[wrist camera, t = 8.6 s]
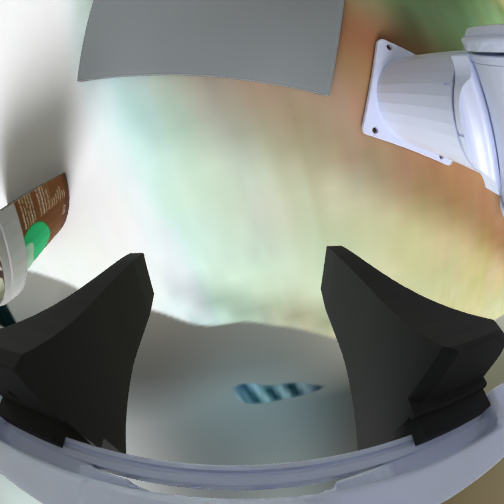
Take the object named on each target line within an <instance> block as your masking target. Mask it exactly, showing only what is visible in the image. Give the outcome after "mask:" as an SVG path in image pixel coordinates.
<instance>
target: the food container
mask: <svg viewBox="0 0 504 504" xmlns="http://www.w3.org/2000/svg"><path fill="white" fill-rule="evenodd" d="M68 209H69V190H68V184H67V180H66V176H65V173H62V174H60V175H58V176H57V177H55V178H53V179H51V180H49V181H47V182H45V183H43V184H42V185H40V186H38V187H36V188H34V189H33V190H31V191H29V192H28V193H26V194H24V195H22V196H21V197H19V198H18V199H16V200H14V201H13V202H11V203H10V204H8V205H7V206H5V207H4V208H2V209H1V210H0V306H2V305H5V304H6V303H8V302H9V301H10V300H12V299H13V298H14V297H16V296H17V295H18V294H19V293H20V292H21V291H22V289H23V288H24V285H25V282H26V277H27V269H28V268H29V267H30V265H31V264H32V263H33V262H34V260H35V259H36V258H37V257H38V255H39V254H40V253H41V252H42V250H43V249H44V248H45V247H46V246H47V244H48V243H49V242H50V241H51V240H52V239H53V238H54V236H55V235H56V234H57V233H58V232H59V231H60V229H61V228H62V227H63V225H64V223H65V221H66V218H67V215H68Z"/></svg>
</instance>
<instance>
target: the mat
mask: <svg viewBox="0 0 504 504" xmlns="http://www.w3.org/2000/svg"><path fill="white" fill-rule="evenodd" d="M343 8H344V0H94V1H93V4H92V8H91V12H90V15H89V19H88V23H87V28H86V32H85V37H84V42H83V47H82V52H81V58H80V65H79V72H78V80H77V81H88V80H96V79H105V78H115V77H128V76H149V75H184V76H205V77H219V78H229V79H238V80H246V81H254V82H260V83H267V84H273V85H278V86H284V87H289V88H294V89H298V90H303V91H307V92H312V93H316V94H320V95H324V96H330V91H331V85H332V79H333V74H334V68H335V62H336V56H337V49H338V43H339V36H340V30H341V23H342V15H343Z"/></svg>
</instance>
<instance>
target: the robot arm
mask: <svg viewBox="0 0 504 504" xmlns="http://www.w3.org/2000/svg"><path fill="white" fill-rule="evenodd" d="M461 41H462V43H463V46H464V48H465V50H459V51H446V52H437V53H428V54H421V55H415V54H414V53H412V52H410V51H408V50H406V49H404V48H402V47H400V46H397V45H395V44H393V43H391V42H389V41H387V40H384V39H379V40H378V41H377V42H376V47H375V54H374V61H373V68H372V74H371V80H370V86H369V91H368V97H367V102H366V107H365V112H364V117H363V122H362V131H363V133H364V134H366V135H370V136H373V137H376V138H379V139H382V140H385V141H388V142H391V143H394V144H396V145H399V146H402V147H405V148H407V149H410V150H413V151H415V152H418V153H420V154H423V155H425V156H428V157H430V158H432V159H435V160H437V161H439V162H442V163H444V164H446V165H450V164H451V163H452V161H455V162H457V163H459V164H462V165H464V166H466V167H468V168H470V169H472V170H475V171H477V172H479V173H480V174H481V175H482V177H483V179H484V182H485V187H486V188H487V189H489V190H491V191H493V192H494V193H496V194H498V195H500V208H501V211H502V215H503V217H504V24H496V25H484V26H475V27H468V28H467V29H466V32H465V36H464V37H462V39H461ZM387 45H388V46H389V47H390V50H388V49H387ZM374 127H375V128H376V132H375V133H373V132H372V129H373V128H374ZM439 156H441V157H439ZM321 291H322V296H323V300H324V304H325V308H326V311H327V314H328V317H329V319H330V322H331V325H332V327H333V330H334V333H335V335H336V338H337V341H338V343H339V346H340V349H341V351H342V354H343V358H344V361H345V365H346V369H347V374H348V378H349V383H350V389H351V394H352V399H353V406H354V414H355V422H356V433H357V445H358V446H357V447H358V451H355V452H351V453H346V454H341V455H336V456H332V457H326V458H320V459H314V460H306V461H299V462H290V463H279V464H266V465H203V464H189V463H179V462H170V461H162V460H156V459H149V458H144V457H138V456H133V455H128V454H126V413H127V401H128V392H129V386H130V379H131V374H132V368H133V364H134V360H135V357H136V354H137V351H138V348H139V345H140V341H141V339H142V336H143V333H144V330H145V327H146V324H147V321H148V318H149V315H150V311H151V307H152V302H153V297H154V292H153V288H152V285H151V281H150V277H149V274H148V270H147V266H146V262H145V258H144V254H143V253H130V254H128V255H126V256H125V257H123V258H121V259H120V260H119V261H117V262H116V263H114V264H113V265H112V266H110V267H109V268H108V269H106V270H105V271H104V272H102V273H101V274H100V275H98V276H97V277H96V278H94V279H93V280H91V281H90V282H89V283H87V284H86V285H84V286H83V287H82V288H80V289H79V290H77V291H76V292H74V293H73V294H71V295H70V296H68V297H67V298H65V299H63V300H62V301H60V302H58V303H57V304H55V305H53V306H52V307H50V308H48V309H46V310H44V311H42V312H40V313H38V314H36V315H34V316H32V317H30V318H27V319H25V320H23V321H20V322H18V323H15V324H13V325H10V326H7V327H4V328H1V329H0V395H1V396H2V397H3V398H2V400H1V403H0V473H1V474H2V475H4V476H5V477H6V478H7V479H9V480H10V481H11V482H13V483H14V484H15V485H16V486H18V487H19V488H20V489H22V490H23V491H25V492H26V493H28V494H29V495H30V496H32V497H34V498H35V499H37V500H38V501H40V502H41V503H43V504H441V503H443V502H444V501H446V500H448V499H449V498H451V497H452V496H454V495H455V494H457V493H458V492H460V491H461V490H463V489H464V488H466V487H467V486H469V485H470V484H471V483H473V482H474V481H475V480H477V479H478V478H479V477H481V476H482V475H483V474H484V473H486V472H487V471H488V470H489V469H490V468H492V467H493V466H494V465H495V464H496V463H498V462H499V461H500V460H501V459H502V458H503V457H504V383H502V384H501V385H499V386H497V387H495V388H494V389H492V390H491V391H490V392H489V393H487V394H485V392H484V390H483V388H484V387H485V386H486V384H487V382H486V381H485V379H484V377H483V376H484V375H485V374H486V372H487V371H488V370H489V369H490V367H491V366H492V365H493V364H494V362H495V361H496V360H497V358H498V357H499V355H500V354H501V352H502V350H503V348H504V333H503V331H502V330H501V329H500V327H499V326H498V325H497V323H496V322H495V321H494V320H492V319H487V318H483V317H479V316H475V315H471V314H467V313H464V312H461V311H458V310H455V309H452V308H449V307H447V306H444V305H442V304H439V303H437V302H435V301H432V300H430V299H428V298H425V297H423V296H421V295H419V294H417V293H415V292H413V291H412V290H410V289H408V288H406V287H404V286H402V285H401V284H399V283H397V282H396V281H394V280H392V279H391V278H389V277H388V276H386V275H384V274H383V273H381V272H380V271H378V270H377V269H375V268H374V267H373V266H371V265H370V264H368V263H367V262H365V261H364V260H362V259H361V258H360V257H358V256H357V255H355V254H354V253H352V252H351V251H349V250H348V249H346V248H344V247H343V246H327V249H326V256H325V264H324V271H323V278H322V284H321ZM107 472H108V473H107ZM110 473H112V474H115V475H119V476H123V477H127V478H132V479H136V480H141V481H146V482H151V483H157V484H163V485H169V486H177V487H186V488H196V489H210V490H263V489H278V488H288V487H296V486H304V485H311V484H318V483H323V482H328V481H334V480H339V479H343V478H346V479H343V480H339V481H337V482H336V483H335V486H334V487H333V488H331V489H329V490H326V491H324V492H323V493H321V494H314V495H305V496H296V497H283V498H265V499H219V498H202V497H191V496H180V495H172V494H164V493H157V492H151V491H149V490H146V489H143V488H141V487H139V486H137V485H134V484H133V483H131V482H130V481H129V480H127V479H124V478H121V477H118V476H115V475H112V474H110ZM347 477H349V478H347Z"/></svg>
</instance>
